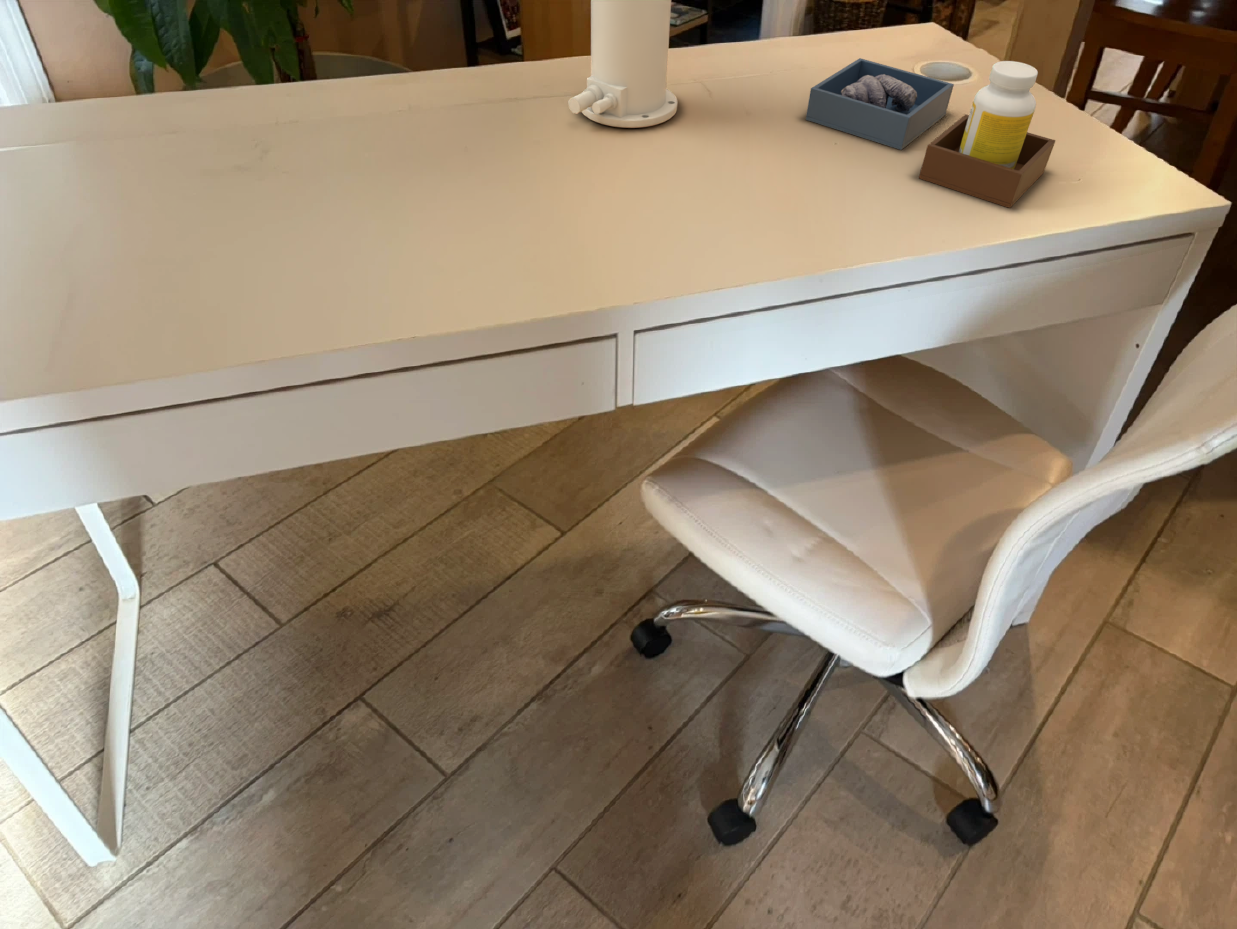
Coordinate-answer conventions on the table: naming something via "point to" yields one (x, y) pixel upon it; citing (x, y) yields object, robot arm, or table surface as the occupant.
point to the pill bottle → (1001, 115)
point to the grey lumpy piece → (882, 92)
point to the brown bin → (984, 167)
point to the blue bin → (873, 119)
